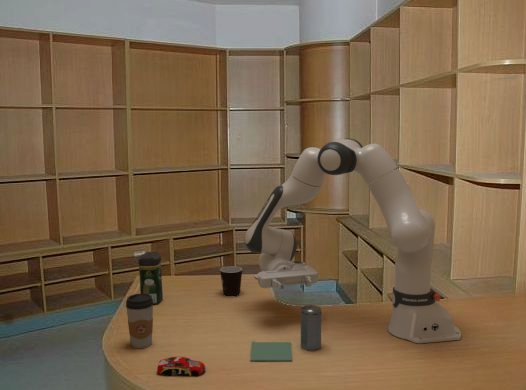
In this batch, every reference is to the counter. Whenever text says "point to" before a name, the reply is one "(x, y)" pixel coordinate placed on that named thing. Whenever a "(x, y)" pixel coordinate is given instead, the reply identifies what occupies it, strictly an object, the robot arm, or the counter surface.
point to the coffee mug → (231, 280)
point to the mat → (271, 352)
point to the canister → (310, 327)
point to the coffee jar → (151, 275)
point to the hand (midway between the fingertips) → (295, 285)
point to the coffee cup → (140, 319)
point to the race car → (180, 367)
